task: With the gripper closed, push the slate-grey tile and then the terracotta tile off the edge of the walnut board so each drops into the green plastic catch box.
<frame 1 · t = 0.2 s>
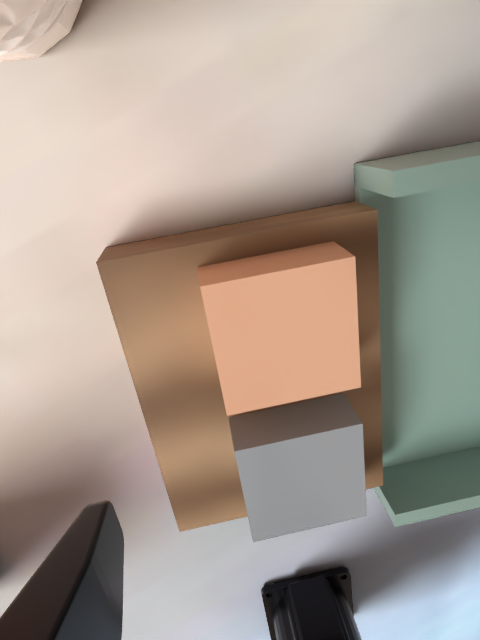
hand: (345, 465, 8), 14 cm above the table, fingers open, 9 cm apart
catch box: (446, 328, 24), on the table
slate tile: (292, 450, 23), point 2 cm above the table, touching walnut board
terracotta tile: (274, 316, 20), point 2 cm above the table, touching walnut board
walnut board: (256, 368, 24), on the table
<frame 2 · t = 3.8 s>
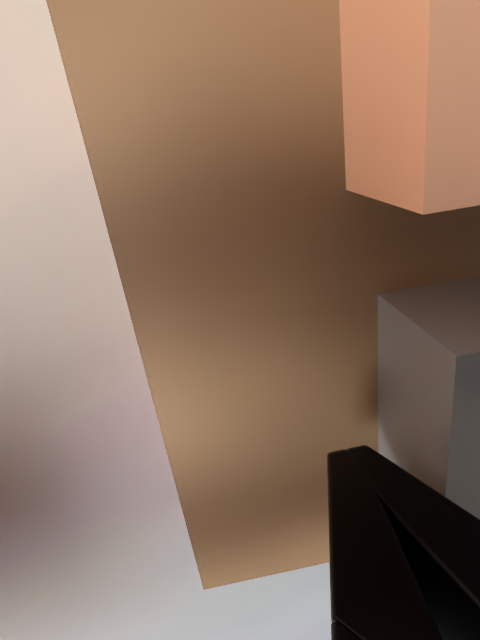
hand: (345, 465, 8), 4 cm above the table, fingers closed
walnut board: (392, 207, 10), on the table
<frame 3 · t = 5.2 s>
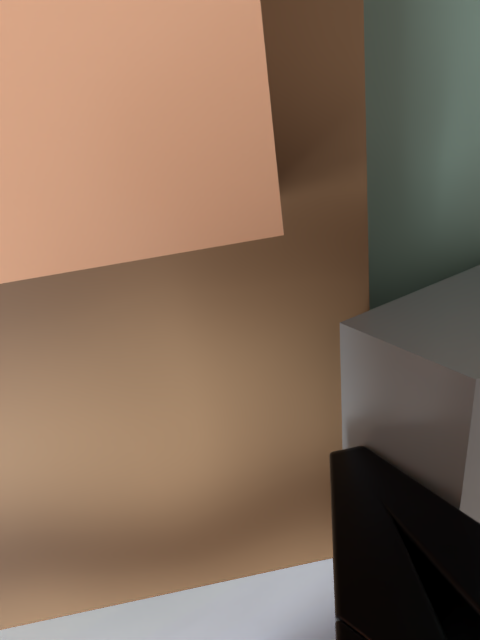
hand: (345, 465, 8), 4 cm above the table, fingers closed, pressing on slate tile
slate tile: (436, 398, 10), point 2 cm above the table, tilted 25°, touching catch box, gripper
terracotta tile: (3, 13, 6), point 2 cm above the table, touching walnut board
walnut board: (65, 261, 10), on the table
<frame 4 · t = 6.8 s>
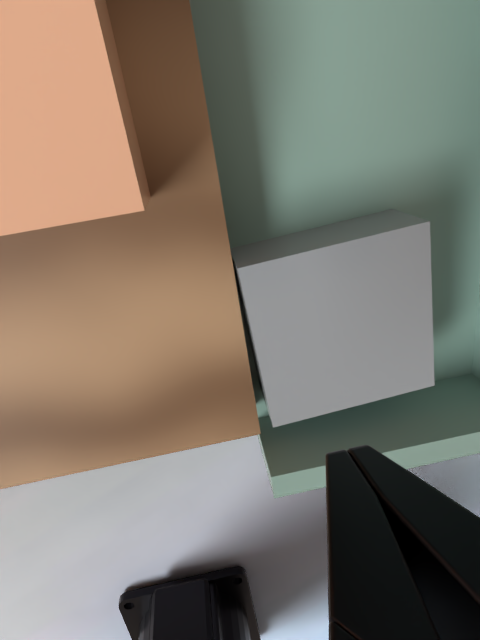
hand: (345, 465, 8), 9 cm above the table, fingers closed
catch box: (355, 182, 15), on the table
slate tile: (322, 305, 16), point 1 cm above the table, touching catch box
terracotta tile: (5, 96, 11), point 2 cm above the table, touching walnut board
walnut board: (45, 238, 15), on the table
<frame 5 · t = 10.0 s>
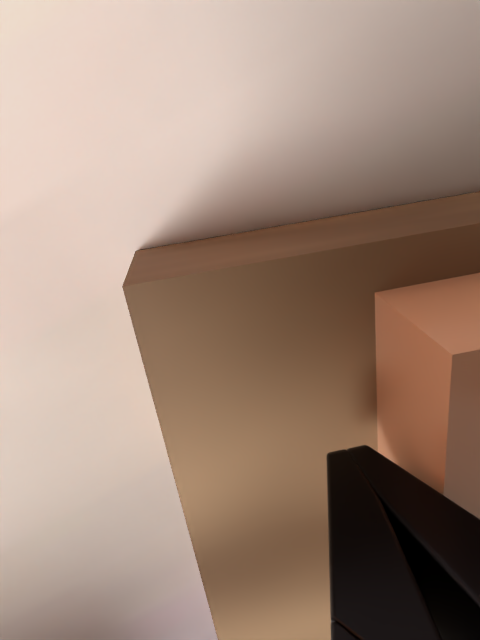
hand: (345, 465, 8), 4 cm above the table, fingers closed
walnut board: (391, 468, 13), on the table
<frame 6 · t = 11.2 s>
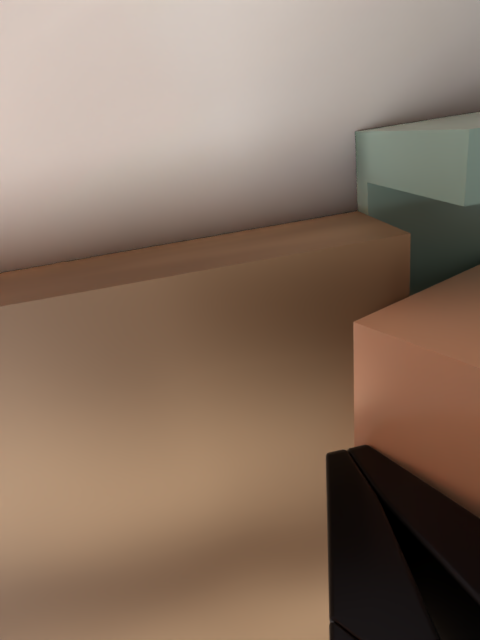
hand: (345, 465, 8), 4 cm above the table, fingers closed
terracotta tile: (444, 398, 10), point 2 cm above the table, tilted 27°, touching gripper
walnut board: (172, 513, 13), on the table
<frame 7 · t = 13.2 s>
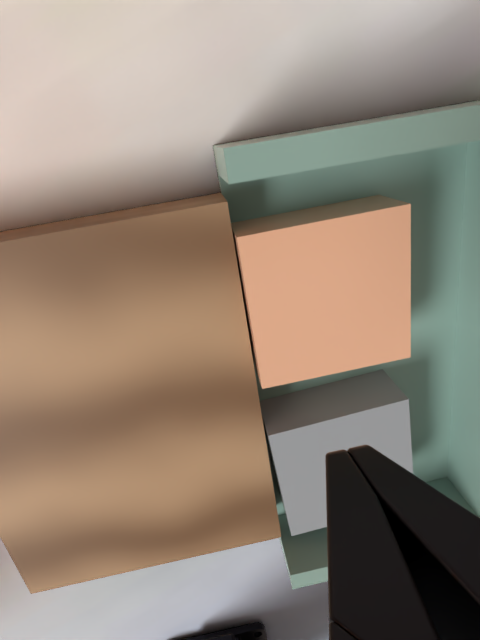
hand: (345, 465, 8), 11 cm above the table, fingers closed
catch box: (354, 348, 20), on the table
slate tile: (328, 435, 21), point 1 cm above the table, touching catch box
terracotta tile: (311, 281, 18), point 1 cm above the table, touching catch box
walnut board: (120, 396, 19), on the table
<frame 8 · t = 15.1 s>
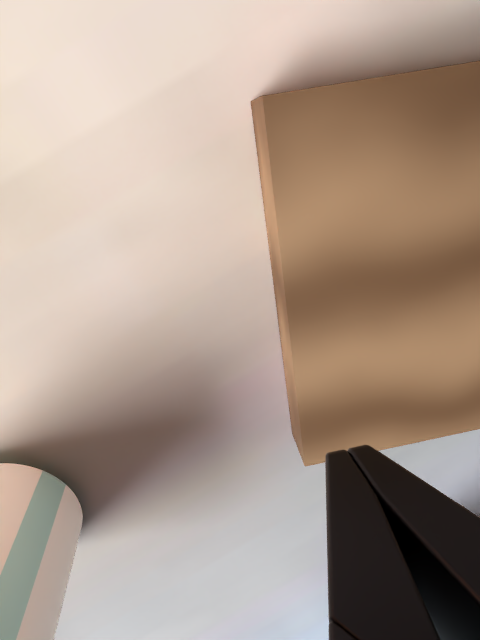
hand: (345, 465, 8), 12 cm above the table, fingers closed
can: (16, 504, 23), on the table
walnut board: (400, 271, 20), on the table
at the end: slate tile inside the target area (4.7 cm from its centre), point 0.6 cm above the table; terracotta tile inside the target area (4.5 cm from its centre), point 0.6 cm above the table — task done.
